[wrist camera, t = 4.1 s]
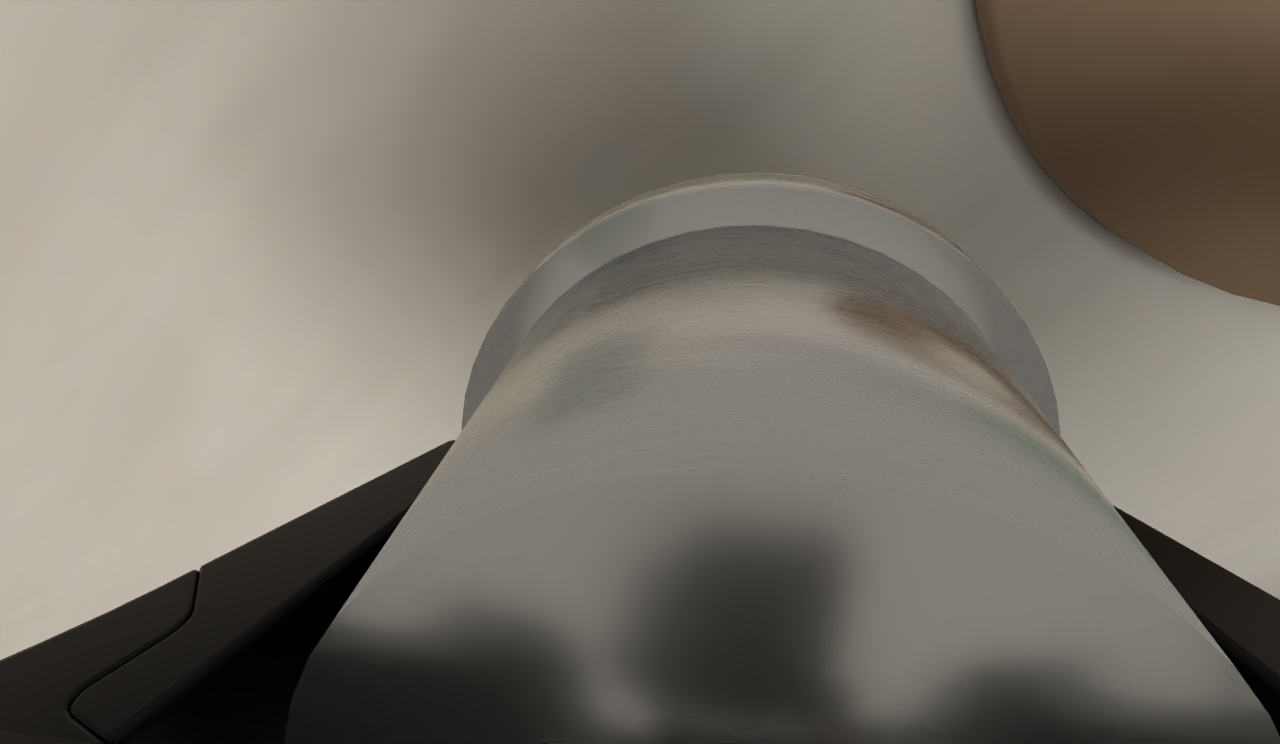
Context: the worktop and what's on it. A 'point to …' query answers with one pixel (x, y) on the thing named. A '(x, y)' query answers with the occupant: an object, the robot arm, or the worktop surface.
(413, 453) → the worktop surface
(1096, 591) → the cap
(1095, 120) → the turntable
